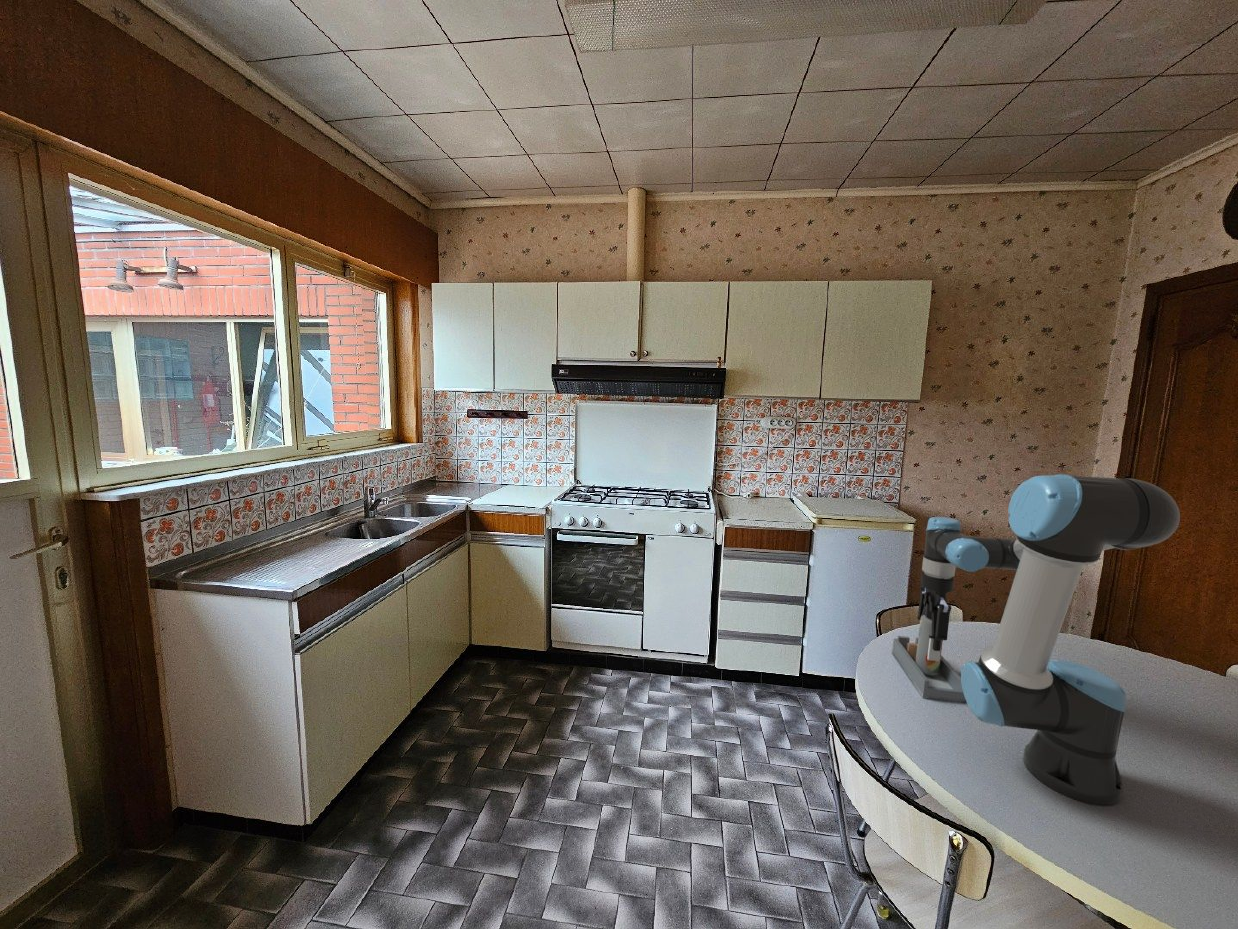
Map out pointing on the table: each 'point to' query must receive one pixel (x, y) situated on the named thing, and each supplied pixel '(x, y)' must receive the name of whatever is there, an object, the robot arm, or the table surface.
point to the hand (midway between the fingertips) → (928, 654)
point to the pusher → (912, 650)
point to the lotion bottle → (926, 645)
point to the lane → (929, 686)
